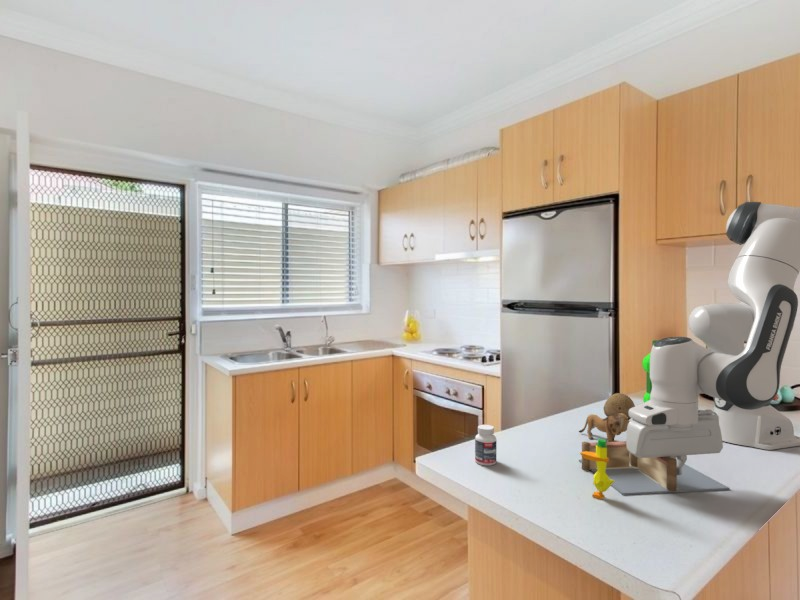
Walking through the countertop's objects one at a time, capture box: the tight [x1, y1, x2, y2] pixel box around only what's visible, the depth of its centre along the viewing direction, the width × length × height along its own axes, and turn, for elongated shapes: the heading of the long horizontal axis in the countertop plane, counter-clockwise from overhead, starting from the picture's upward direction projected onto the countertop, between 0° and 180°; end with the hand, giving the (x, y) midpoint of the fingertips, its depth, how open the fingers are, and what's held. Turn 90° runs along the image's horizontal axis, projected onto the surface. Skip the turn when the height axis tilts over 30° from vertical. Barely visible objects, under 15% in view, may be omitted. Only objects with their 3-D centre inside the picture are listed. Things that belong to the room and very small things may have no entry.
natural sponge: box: [603, 392, 636, 421], centre depth 136 cm, size 9×9×10 cm
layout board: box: [579, 458, 731, 496], centre depth 99 cm, size 24×18×1 cm
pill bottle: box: [474, 424, 497, 467], centre depth 107 cm, size 5×5×9 cm
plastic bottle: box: [642, 339, 659, 403], centre depth 151 cm, size 10×10×25 cm
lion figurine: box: [578, 413, 631, 442], centre depth 122 cm, size 15×5×9 cm, turn 36°
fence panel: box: [637, 457, 677, 491], centre depth 95 cm, size 12×2×6 cm, turn 2°
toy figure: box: [579, 438, 615, 500], centre depth 88 cm, size 7×4×12 cm, turn 50°
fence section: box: [581, 440, 637, 472], centre depth 102 cm, size 15×2×7 cm, turn 95°
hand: (675, 474), depth 93 cm, fingers closed
